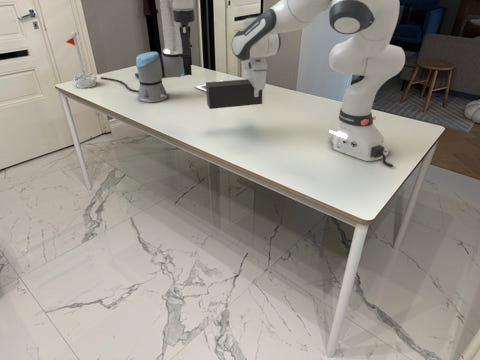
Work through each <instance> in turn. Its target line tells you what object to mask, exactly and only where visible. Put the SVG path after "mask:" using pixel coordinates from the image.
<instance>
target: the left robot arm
mask: <svg viewBox="0 0 480 360" xmlns="http://www.w3.org/2000/svg"><path fill="white" fill-rule="evenodd" d="M159 7H160V15H161V23H162V33H163V42H164V48H163V49H162V54H160V53H159V52H157V51H147V52H144V53H140V54H138V55H137V56H136V58H135V63H136V66H135V67H136V68H137V73H138V75H139V78H138V81H139V89H138V90H137V89H132V88H129V87H128V85H127V84H126V83H125V82H123V81H122V80H119V79H116V78H111V77H110V78H109V77H103V76H101V77H100V79H103V80H108V81H113V82H118V83H121V84H122V85H124V86H125V88H126V89H127V90H128V91H131V92H136V93H138V101H140V102H142V103H149V104H151V103H159V102H162V101H165V100H166V99H167V98H168V94H167V90H166V88H165V86H164V84H163V80H162V79H168V78H169V79H170V78H180V77H181V78H182V77H186V76H192V74H193V73H192V66H193V60H192V48H193V44H192V43H191V30H192V29H191V26H190V25H189V24H190V23H193V22H195V20H196V19H195V18H196V17H195V10H194V8H195V1H194V0H159Z"/></svg>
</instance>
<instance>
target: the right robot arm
mask: <svg viewBox="0 0 480 360" xmlns="http://www.w3.org/2000/svg"><path fill="white" fill-rule="evenodd" d="M400 7H401V5H400V0H279V1H278V2H276V3H275V4H274V5H272V6H271V7H270V8H268V9H267V10H266V11H263V13H261V14H259V15H256V16H248V17H246V18H244V21H243V29H242V30H237V31H236V33H235V34H234V35H233V37H232V40H231V50H232V54H233V55H234V56H235V57H236V58H237V59H238V60H240V61H242V65H243V77H244V78H245V79H248V80H249V82H250V83H251V84H252V86H253V87H254V92H253V95H254V97H258V93H259V90H262V89H263V90H264V89H265V87H266V82H267V70H268V68H269V67H268V62H267V60H266V58H267V57H272V56H276V55H277V54H278V53H279V51H280V49H281V45H282V37H281V34H283V33H291V32H297V31H300V30H302V29H305V28H306V27H308V26H309V25H311V24H312V23H313V22H314V21H316V20H317V19H318V18H319V17H320V15H322V14H323V12H325V11H327V10H329V12H328V19H329V26H330V27H331V29H333V30H334V32H337V33H338V34H342V35H352V36H351V37H350V38H348V39H346V40H344V41H342V42H339V43H336V44H335V45H334V46H333V47H332V48H331V50H330V52H329V54H328V64H329V67H330V69H331V70H332V71H333V72H335V73H338V74H341V75H347V76H349V75H351V76H362V77H363V79H362V80H359V81H358V82H355V83H352V84H351V85H349V86H348V87H346V89H345V90H344V92H343V98H342V103H341V108H340V109H339V113H338V122H337V123H338V124H337V127H336V130H335V131H334V130H331V129H329V131H328V132H329V133H330V134H333V137H332V139H331V144H332V149H333V150H334V151H336V152H340V153H343V154H344V155H345V154H346V155H348V156H351V157H354V158H356V159H359V160H361V161H365V162H374V161H379V160H381V159H382V163H383V164H384V165H385V166H388V167H391V168H392V167H394V165H393V163H390V162H387V161H386V160H387V155H388V154H389V152H390V150H389V148H387V147H386V146H385V138H384V135H383V134H382V133H381V131H379V128H377V126H376V125H375V124H374V121H375V120H376V119H377V116H373V113H372V109H373V105H374V101H375V98H376V95H377V93H378V91H379V90H380V88H381V87H382V86H383V85H384V84H385V83H386V82H387V81H388V80H390V79H392V78H393V77H395V76H397V75H398V74H400V72H401V71H402V70H403V68H404V66H405V64H406V54H405V51H404V49H403V47H401V46H397V45H394V44H390V42H391V40H392V38H393V36H394V35H393V34H394V33H395V29H396V28H397V24H398V20H399V15H400Z"/></svg>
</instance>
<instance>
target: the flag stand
mask: <svg viewBox="0 0 480 360" xmlns="http://www.w3.org/2000/svg"><path fill="white" fill-rule="evenodd" d="M70 35H71V38H69V39H68V40H66V41H65V43H67V44H69V45H73V46H75V50H76V54H77V58H78V62H79V66H80V70H81V73H78V74H77V75H76V74H75V75H73V76H72V80H73V82H74V83H75V84H76V87H77V88H79V89H80V88H81V89H87V88H93V87H95V86H96V85H97V81H98V77H97V74H96V73H92V72H85V68H84V67H85V66H84V63H83V59H82V55H81V51H80V47H79V42H78V39H77V36H78V34H77V32H76V31H71V32H70Z"/></svg>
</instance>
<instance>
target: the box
mask: <svg viewBox="0 0 480 360" xmlns="http://www.w3.org/2000/svg"><path fill="white" fill-rule="evenodd" d="M218 81H219V82H216V81H209V82H208V81H207V82H205V84H206V92H205V93H206V104H207V106H208V108H209V110H213V109H215V110H216V109H224V108H234V107H243V106H256V105H263V90H264V89H262V90H259V93H258V97H254V95H253V92H254V87H253V86H252V84H251V83H250V82H249V80H248V79H246V78H245V79H232V80H223V81H220V80H218Z"/></svg>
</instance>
